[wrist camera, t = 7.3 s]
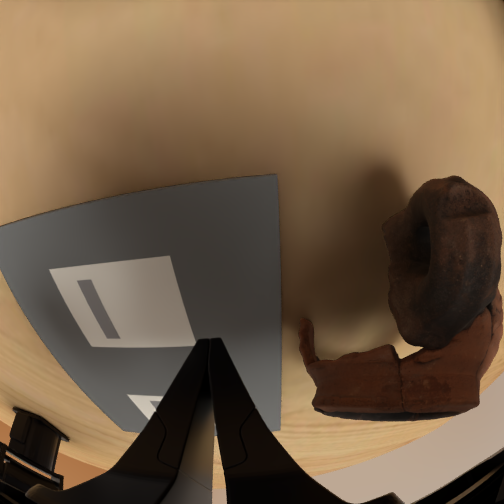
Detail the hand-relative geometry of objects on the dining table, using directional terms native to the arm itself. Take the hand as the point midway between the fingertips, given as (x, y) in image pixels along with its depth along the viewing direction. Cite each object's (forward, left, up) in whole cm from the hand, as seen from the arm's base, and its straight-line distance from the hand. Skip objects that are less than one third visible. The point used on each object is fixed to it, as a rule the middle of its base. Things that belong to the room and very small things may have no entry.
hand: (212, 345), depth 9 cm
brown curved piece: (0, -8, -3) cm, 8 cm away
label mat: (-5, +4, -2) cm, 7 cm away
